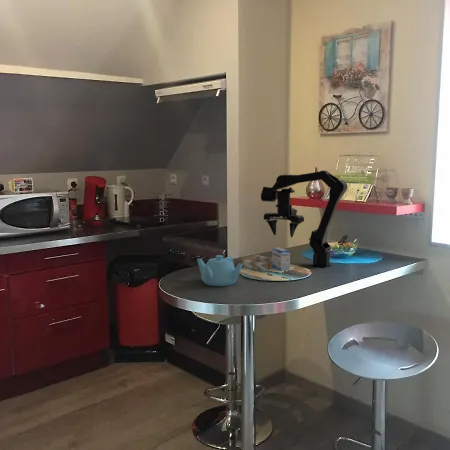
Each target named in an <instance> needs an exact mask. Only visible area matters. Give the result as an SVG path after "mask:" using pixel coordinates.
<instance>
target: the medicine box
mask: <svg viewBox="0 0 450 450" xmlns="http://www.w3.org/2000/svg"><path fill="white" fill-rule="evenodd" d="M271 253H272V255H271V258H272V265H271V267H272V268H275V269H278V270H281V271H285V270H290V267H291V266H290V265H291V250H290V249H287V248H284V247H279V246H278V247H272V252H271ZM290 271H291V270H290Z"/></svg>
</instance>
